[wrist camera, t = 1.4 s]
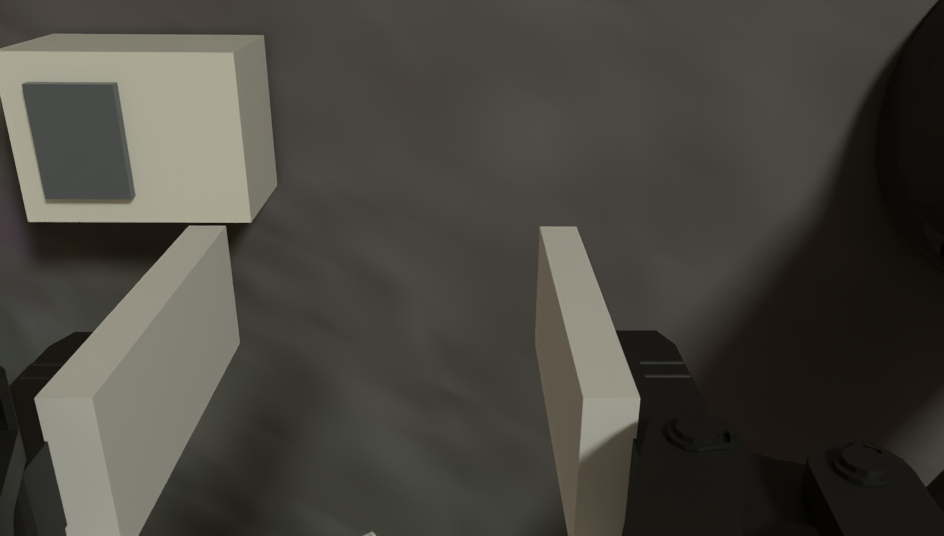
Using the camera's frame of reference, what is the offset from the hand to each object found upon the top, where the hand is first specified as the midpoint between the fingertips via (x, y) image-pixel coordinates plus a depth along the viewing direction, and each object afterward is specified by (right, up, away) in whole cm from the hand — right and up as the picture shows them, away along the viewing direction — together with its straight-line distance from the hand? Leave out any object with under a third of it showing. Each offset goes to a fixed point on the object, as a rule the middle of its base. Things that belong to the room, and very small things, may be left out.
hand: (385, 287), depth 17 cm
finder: (-10, +7, +15) cm, 20 cm away
